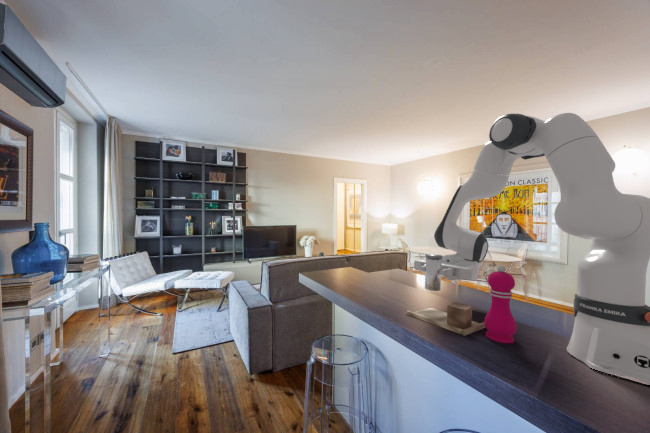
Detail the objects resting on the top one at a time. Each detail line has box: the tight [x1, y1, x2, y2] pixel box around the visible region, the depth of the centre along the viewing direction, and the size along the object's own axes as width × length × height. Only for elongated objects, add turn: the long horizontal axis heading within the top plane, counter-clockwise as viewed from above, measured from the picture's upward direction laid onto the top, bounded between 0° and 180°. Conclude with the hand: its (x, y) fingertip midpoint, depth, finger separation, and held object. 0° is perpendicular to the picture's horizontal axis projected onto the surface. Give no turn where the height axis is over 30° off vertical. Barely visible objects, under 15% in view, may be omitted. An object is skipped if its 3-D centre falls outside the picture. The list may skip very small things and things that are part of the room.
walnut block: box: [446, 301, 473, 330], centre depth 79 cm, size 5×5×6 cm
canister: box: [424, 253, 443, 292], centre depth 90 cm, size 5×5×11 cm
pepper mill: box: [483, 265, 518, 344], centre depth 72 cm, size 7×7×20 cm
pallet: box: [405, 307, 486, 336], centre depth 84 cm, size 19×13×2 cm
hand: (431, 270), depth 89 cm, fingers closed on canister, 5 cm apart
